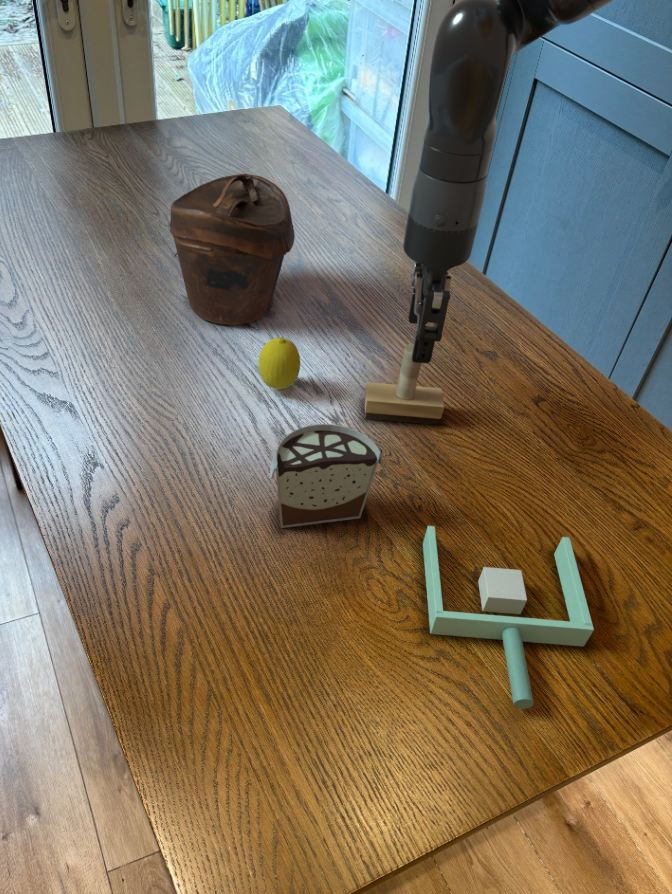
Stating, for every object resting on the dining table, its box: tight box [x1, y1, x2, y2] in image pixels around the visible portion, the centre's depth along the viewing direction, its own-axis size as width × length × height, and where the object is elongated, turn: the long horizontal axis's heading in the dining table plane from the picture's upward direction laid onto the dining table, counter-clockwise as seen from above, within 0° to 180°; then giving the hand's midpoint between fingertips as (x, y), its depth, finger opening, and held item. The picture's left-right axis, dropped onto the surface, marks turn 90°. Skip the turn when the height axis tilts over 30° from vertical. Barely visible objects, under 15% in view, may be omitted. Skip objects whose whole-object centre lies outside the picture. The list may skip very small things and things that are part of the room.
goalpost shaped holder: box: [422, 525, 595, 710], centre depth 76 cm, size 20×16×3 cm
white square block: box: [477, 566, 528, 615], centre depth 79 cm, size 4×4×2 cm
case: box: [169, 173, 296, 326], centre depth 110 cm, size 18×20×18 cm
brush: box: [364, 343, 445, 426], centre depth 96 cm, size 4×10×10 cm, turn 86°
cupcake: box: [269, 423, 384, 529], centre depth 84 cm, size 12×6×10 cm, turn 102°
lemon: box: [258, 337, 301, 390], centre depth 99 cm, size 6×6×8 cm
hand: (418, 341), depth 92 cm, fingers open, 8 cm apart
